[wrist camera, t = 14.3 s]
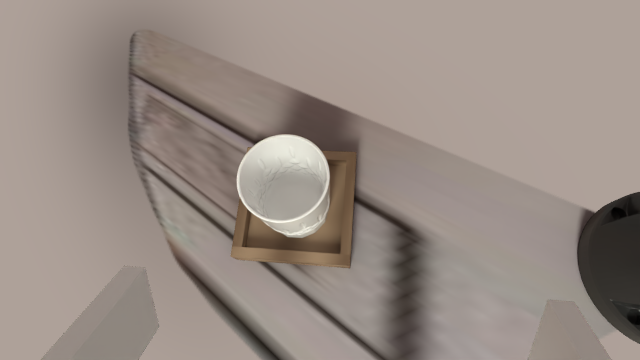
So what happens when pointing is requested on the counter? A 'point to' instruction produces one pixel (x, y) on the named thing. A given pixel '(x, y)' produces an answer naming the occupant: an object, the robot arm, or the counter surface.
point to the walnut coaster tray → (316, 248)
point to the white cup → (286, 184)
